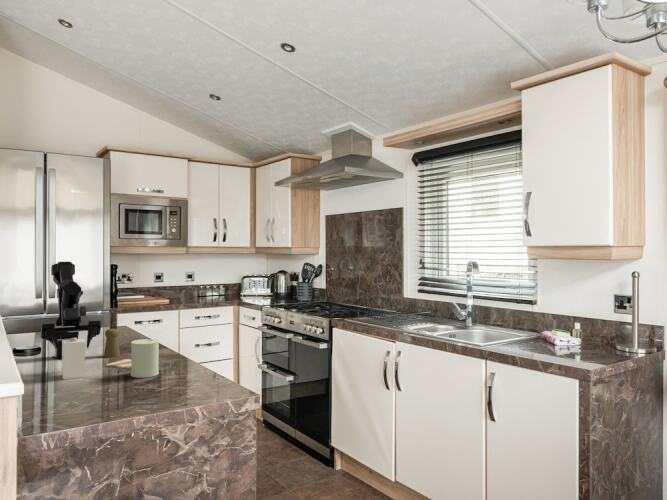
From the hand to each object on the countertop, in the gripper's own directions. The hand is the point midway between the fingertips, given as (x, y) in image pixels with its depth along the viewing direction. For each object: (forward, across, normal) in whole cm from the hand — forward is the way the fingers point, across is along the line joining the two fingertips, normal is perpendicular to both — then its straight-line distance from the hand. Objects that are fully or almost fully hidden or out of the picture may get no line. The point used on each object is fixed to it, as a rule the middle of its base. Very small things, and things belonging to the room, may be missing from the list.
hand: (73, 348), depth 175 cm
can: (+14, +22, -1) cm, 26 cm away
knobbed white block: (+8, 0, +5) cm, 9 cm away
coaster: (+1, +19, +12) cm, 22 cm away
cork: (-12, +16, +25) cm, 32 cm away
